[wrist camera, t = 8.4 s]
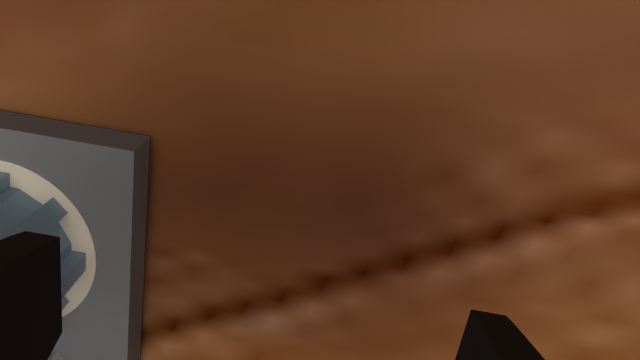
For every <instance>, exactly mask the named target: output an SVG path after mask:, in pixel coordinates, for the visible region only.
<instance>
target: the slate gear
mask: <svg viewBox="0 0 640 360" xmlns="http://www.w3.org/2000/svg"><path fill="white" fill-rule="evenodd" d="M67 213H68V212H67V211H66V210H65V209H64V208H63V207H62V206H61V205H60V204H59V203H58V202H57V200H56V199H55V198H54V197H53V198H51V199H50V200H49V201H47V202H46V203H45V204H41V203H40V202H38V201H37V200H35V199H34V198H32V197H31V196H29V195H28V194H27V193H25V192H24V191H22V190H21V189H19V188H14V187H10V173H6V172H0V240H1V239H4V238H6V237H9V236H12V235H15V234H18V233H21V232H24V231H29V232H34V233H40V234H46V235H51V236H57V237H60V257H61V296H62V310H63V309H64V307H65V306H66V305H67V304H68V302H69V300H68V299H67V298H66V297H65V294H66V293H67V292H68V291H69V290H70V288H71V287H72V286H73V285H74V284H75V282H76V281H77V280H78V279H79V278H80V276H81V275H82V274H83V273H84V272H85V270H86V253H83V252H78V251H72V247H71V242H70V240H69V238H68V237H67V235H66V233H65V232H64V230H63V228H62V227H61V225H60V223H59V221H60V220H61V219H62V218H63V217H64V216H65V215H66V214H67Z"/></svg>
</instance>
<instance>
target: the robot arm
mask: <svg viewBox="0 0 640 360" xmlns="http://www.w3.org/2000/svg"><path fill="white" fill-rule="evenodd" d="M61 334H62V296H61V257H60V237H57V236H51V235H46V234H40V233H34V232H29V231H24V232H21V233H18V234H15V235H12V236H9V237H6V238H4V239H1V240H0V360H48V358H49V356H50V354H51V353H52V351H53V349H54V347H55V345H56V343H57V341H58V339H59V338H60V336H61ZM455 360H545V359H544V358H543V357H542V356H541V355H540V353H539V352H538V351H537V350H536V349H535V348H534V346H533V345H532V344H531V343H530V342H529V341H528V339H527V338H526V337H525V336H524V335H523V334H522V332H521V331H520V330H519V329H518V328H517V327H516V326H515V325H514V323H513V322H512V321H511V320H510V319H509V318H508V317H507V316H505V315H499V314H493V313H488V312H482V311H476V310H471V311H470V315H469V318H468V321H467V324H466V327H465V330H464V334H463V337H462V340H461V343H460V346H459V350H458V353H457V356H456V359H455Z"/></svg>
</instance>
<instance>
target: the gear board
mask: <svg viewBox="0 0 640 360" xmlns="http://www.w3.org/2000/svg"><path fill="white" fill-rule="evenodd" d="M149 152H150V136H145V135H139V134H134V133H128V132H122V131H116V130H111V129H105V128H99V127H94V126H88V125H82V124H77V123H71V122H65V121H59V120H54V119H48V118H42V117H37V116H31V115H25V114H20V113H14V112H8V111H2V110H0V172H6V173H10V187H14V188H19V189H21V190H22V191H24V192H25V193H27V194H28V195H29V196H31V197H32V198H34V199H35V200H37V201H38V202H40V203H41V204H45V203H46V202H47V201H49V200H50V199H51V198H53V197H54V198H55V199H56V200H57V202H58V203H59V204H60V205H61V206H62V207H63V208H64V209H65V210H66V211H67V212H68V213H67V214H66V215H65V216H64V217H63V218H62V219H61V220H60V221H59V223H60V225H61V227H62V228H63V230H64V232H65V233H66V235H67V237H68V238H69V240H70V242H71V247H72V251H78V252H83V253H86V270H85V272H84V273H83V274H82V275H81V276H80V278H79V279H78V280H77V281H76V282H75V284H74V285H73V286H72V287H71V288H70V290H69V291H68V292H67V293H66V294H65V297H66V298H67V299H68V300H69V302H68V304H67V305H66V306H65V307H64V309H63V310H62V334H61V336H60V338H59V339H58V341H57V343H56V345H55V347H54V349H53V351H52V353H51V354H50V356H49V358H48V360H140V353H141V331H142V309H143V286H144V264H145V241H146V219H147V197H148V174H149Z"/></svg>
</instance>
